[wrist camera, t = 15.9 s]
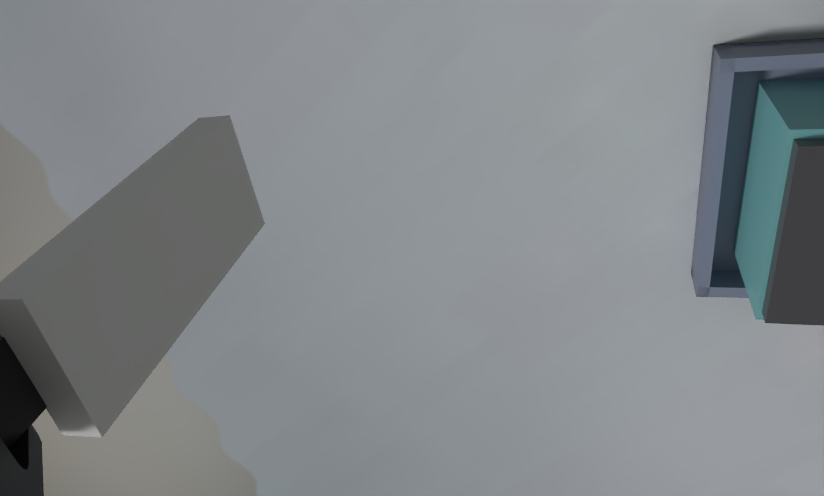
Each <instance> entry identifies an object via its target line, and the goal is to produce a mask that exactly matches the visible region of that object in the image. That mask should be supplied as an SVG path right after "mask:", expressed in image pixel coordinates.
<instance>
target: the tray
mask: <svg viewBox="0 0 824 496" xmlns="http://www.w3.org/2000/svg"><path fill="white" fill-rule="evenodd" d="M820 78H824V38H818V39H802V40H787V41H771V42H755V43H740V44H724V45H713V51H712V62H711V72H710V83H709V93H708V103H707V114H706V124H705V135H704V145H703V155H702V166H701V176H700V187H699V197H698V207H697V218H696V228H695V239H694V249H693V259H692V270H691V274H692V279H693V284H694V288H695V293H696V297H738V298H749V296H748V293H747V290H746V287H745V284H744V281H743V278H742V275H741V272H740V269H739V266H738V263H737V260H736V257H735V254H734V251H733V248H734V241H735V235H736V228H737V221H738V214H739V207H740V201H741V194H742V187H743V180H744V173H745V167H746V160H747V153H748V146H749V139H750V133H751V126H752V119H753V112H754V105H755V99H756V92H757V85H758V81H770V80H795V79H820Z"/></svg>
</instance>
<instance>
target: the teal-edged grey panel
mask: <svg viewBox="0 0 824 496" xmlns="http://www.w3.org/2000/svg"><path fill="white" fill-rule="evenodd" d="M733 251H734V254H735V257H736V260H737V263H738V266H739V269H740V272H741V275H742V278H743V281H744V284H745V287H746V290H747V293H748V296H749V300H750V303H751V306H752V309H753V312H754V315H755V318H756V319H762V320H764V321H765V323H779V324H803V325H824V78H820V79H795V80H770V81H758V85H757V92H756V99H755V105H754V112H753V119H752V126H751V133H750V139H749V146H748V153H747V160H746V167H745V173H744V180H743V187H742V194H741V201H740V207H739V214H738V221H737V228H736V235H735V241H734V248H733Z"/></svg>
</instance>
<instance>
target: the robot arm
mask: <svg viewBox="0 0 824 496" xmlns="http://www.w3.org/2000/svg"><path fill="white" fill-rule="evenodd" d="M264 224H265V223H264V220H263V217H262V214H261V211H260V208H259V205H258V201H257V198H256V195H255V192H254V189H253V186H252V183H251V180H250V177H249V174H248V170H247V167H246V164H245V161H244V158H243V155H242V152H241V149H240V146H239V143H238V140H237V136H236V133H235V130H234V127H233V124H232V121H231V118H230V115H229V116H217V117H205V118H198V119H197V120H196V121H195V122H193V123H192V124H191V125H190V126H189V127H187V128H186V129H185V130H184V131H183V132H181V133H180V134H179V135H178V136H176V137H175V138H174V139H173V140H172V141H170V142H169V143H168V144H167V145H166V146H164V147H163V148H162V149H161V150H159V151H158V152H157V153H156V154H155V155H153V156H152V157H151V158H150V159H149V160H147V161H146V162H145V163H144V164H142V165H141V166H140V167H139V168H138V169H136V170H135V171H134V172H133V173H132V174H130V175H129V176H128V177H127V178H125V179H124V180H123V181H122V182H121V183H119V184H118V185H117V186H116V187H114V188H113V189H112V190H111V191H110V192H108V193H107V194H106V195H105V196H104V197H102V198H101V199H100V200H99V201H97V202H96V203H95V204H94V205H93V206H91V207H90V208H89V209H88V210H87V211H85V212H84V213H83V214H82V215H80V216H79V217H78V218H77V219H76V220H74V221H73V222H72V223H71V224H70V225H68V226H67V227H66V228H65V229H64V230H62V231H61V232H60V233H59V234H57V235H56V236H55V237H54V238H53V239H51V240H50V241H49V242H48V243H46V244H45V245H44V246H43V247H42V248H40V249H39V250H38V251H37V252H36V253H34V254H33V255H32V256H31V257H30V258H28V259H27V260H26V261H25V262H23V263H22V264H21V265H20V266H19V267H17V268H16V269H15V270H14V271H12V272H11V273H10V274H9V275H8V276H6V277H5V278H4V279H3V280H2V281H0V496H44V493H43V467H42V466H43V465H42V442H41V440H40V438H39V435H38V433H37V432H36V430H35V429H34V427H33V426H32V423H33V422H34V421H35V420H36V419H37V418H38V416H39V415H40V414H41V413H42V412H43V411H44V410H45V409H47V411H48V412H49V413H50V415H51V417H52V418H53V420H54V422H55V423H56V425H57V427H58V428H59V430H60V431H61V433H62V434H63V435H73V436H88V437H103V436H104V434H105V433H106V431H107V430H108V429H109V428H110V426H111V425H112V424H113V422H114V421H115V420H116V418H117V417H118V416H119V415H120V413H121V412H122V410H123V409H124V408H125V407H126V405H127V404H128V403H129V401H130V400H131V399H132V397H133V396H134V395H135V393H136V392H137V391H138V390H139V388H140V387H141V386H142V384H143V383H144V382H145V380H146V379H147V378H148V376H149V375H150V374H151V372H152V371H153V370H154V369H155V367H156V366H157V365H158V363H159V362H160V361H161V359H162V358H163V357H164V355H165V354H166V353H167V351H168V350H169V349H170V348H171V346H172V345H173V344H174V342H175V341H176V340H177V338H178V337H179V336H180V334H181V333H182V332H183V330H184V329H185V328H186V326H187V325H188V324H189V323H190V321H191V320H192V319H193V317H194V316H195V315H196V313H197V312H198V311H199V309H200V308H201V307H202V305H203V304H204V303H205V302H206V300H207V299H208V298H209V296H210V295H211V294H212V292H213V291H214V290H215V288H216V287H217V286H218V284H219V283H220V282H221V281H222V279H223V278H224V277H225V275H226V274H227V273H228V271H229V270H230V269H231V267H232V266H233V265H234V263H235V262H236V261H237V259H238V258H239V257H240V256H241V254H242V253H243V252H244V250H245V249H246V248H247V246H248V245H249V244H250V242H251V241H252V240H253V238H254V237H255V236H256V235H257V233H258V232H259V231H260V229H261V228H262V227H263V225H264Z"/></svg>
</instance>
